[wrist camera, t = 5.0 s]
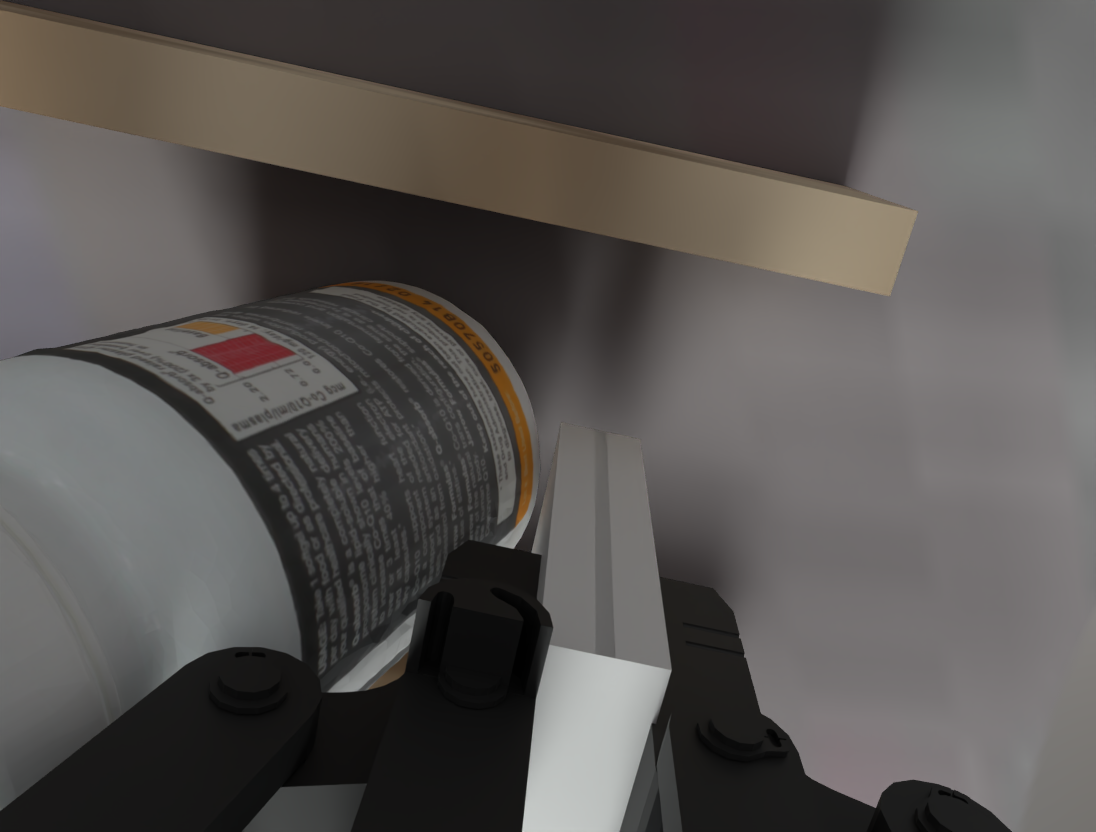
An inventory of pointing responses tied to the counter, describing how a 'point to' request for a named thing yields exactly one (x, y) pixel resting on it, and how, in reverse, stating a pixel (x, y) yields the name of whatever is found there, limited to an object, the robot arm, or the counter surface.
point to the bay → (446, 152)
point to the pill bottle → (242, 498)
